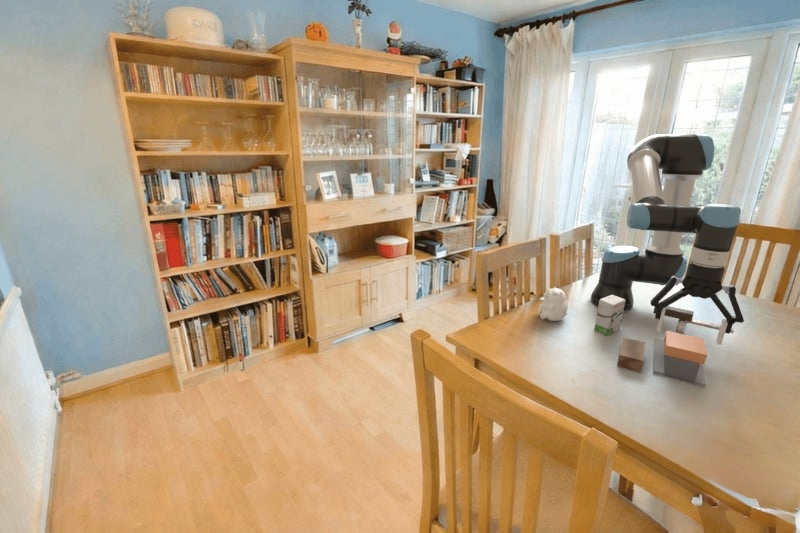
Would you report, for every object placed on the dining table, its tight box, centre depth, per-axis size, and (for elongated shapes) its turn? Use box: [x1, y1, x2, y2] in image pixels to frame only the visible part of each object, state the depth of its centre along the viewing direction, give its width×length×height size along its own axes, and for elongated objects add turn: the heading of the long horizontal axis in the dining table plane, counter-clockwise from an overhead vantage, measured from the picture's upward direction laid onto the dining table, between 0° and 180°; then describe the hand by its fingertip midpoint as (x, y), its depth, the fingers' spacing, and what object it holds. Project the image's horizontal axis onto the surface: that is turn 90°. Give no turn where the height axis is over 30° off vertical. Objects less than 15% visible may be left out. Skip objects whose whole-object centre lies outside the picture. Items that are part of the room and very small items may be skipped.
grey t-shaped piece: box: [653, 305, 735, 335], centre depth 117 cm, size 3×20×11 cm, turn 52°
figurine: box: [538, 286, 569, 322], centre depth 138 cm, size 10×10×12 cm
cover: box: [663, 330, 708, 365], centre depth 106 cm, size 9×10×3 cm
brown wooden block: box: [616, 336, 646, 374], centre depth 113 cm, size 6×12×4 cm, turn 147°
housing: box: [652, 337, 708, 388], centre depth 112 cm, size 12×23×6 cm, turn 147°
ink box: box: [593, 295, 625, 336], centre depth 129 cm, size 9×5×12 cm, turn 123°
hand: (687, 335), depth 105 cm, fingers open, 13 cm apart
